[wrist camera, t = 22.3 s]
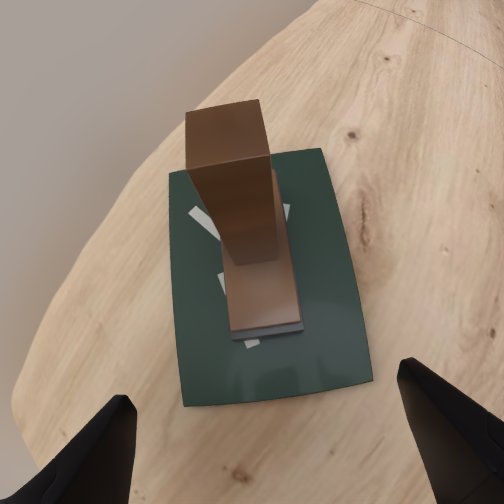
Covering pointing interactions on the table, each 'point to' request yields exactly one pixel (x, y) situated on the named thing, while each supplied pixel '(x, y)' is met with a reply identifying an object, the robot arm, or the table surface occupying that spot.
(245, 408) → the table surface
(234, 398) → the chalkboard
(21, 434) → the table surface
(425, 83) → the table surface
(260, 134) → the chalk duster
